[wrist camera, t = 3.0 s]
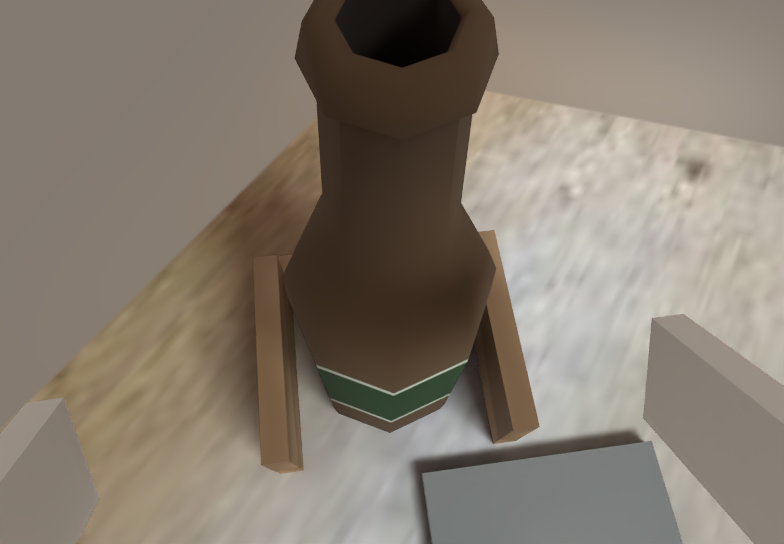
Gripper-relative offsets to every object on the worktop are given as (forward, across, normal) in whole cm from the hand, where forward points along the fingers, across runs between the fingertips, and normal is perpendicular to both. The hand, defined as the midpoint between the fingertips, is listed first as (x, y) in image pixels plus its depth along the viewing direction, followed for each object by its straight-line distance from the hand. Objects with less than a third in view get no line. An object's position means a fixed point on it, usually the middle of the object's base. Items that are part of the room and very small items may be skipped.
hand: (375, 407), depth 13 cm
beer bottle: (+17, +1, -9) cm, 19 cm away
